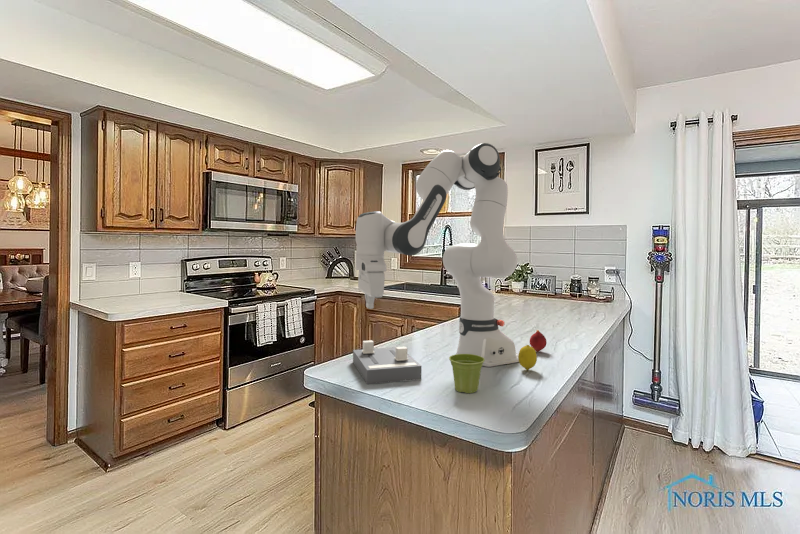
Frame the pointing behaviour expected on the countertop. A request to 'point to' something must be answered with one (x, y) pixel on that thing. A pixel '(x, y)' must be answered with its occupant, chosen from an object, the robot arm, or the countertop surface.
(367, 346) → the block
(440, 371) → the countertop surface
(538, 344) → the onion
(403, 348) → the block
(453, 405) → the countertop surface
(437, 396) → the countertop surface
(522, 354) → the lemon
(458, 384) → the plant pot
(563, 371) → the countertop surface
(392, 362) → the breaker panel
